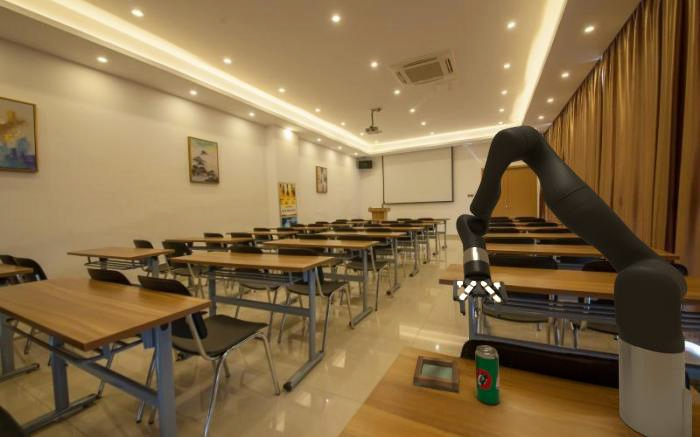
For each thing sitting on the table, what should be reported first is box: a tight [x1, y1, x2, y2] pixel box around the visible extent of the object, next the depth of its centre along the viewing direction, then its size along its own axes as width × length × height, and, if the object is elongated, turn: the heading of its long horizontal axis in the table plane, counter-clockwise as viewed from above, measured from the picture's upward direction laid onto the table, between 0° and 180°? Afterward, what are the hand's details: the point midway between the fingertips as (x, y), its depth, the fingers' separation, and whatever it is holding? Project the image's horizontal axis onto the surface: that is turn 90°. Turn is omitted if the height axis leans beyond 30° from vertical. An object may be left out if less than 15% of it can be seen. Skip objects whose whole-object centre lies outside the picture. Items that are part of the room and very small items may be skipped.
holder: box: [413, 355, 460, 394], centre depth 78 cm, size 11×11×2 cm
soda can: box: [474, 344, 501, 406], centre depth 68 cm, size 5×5×12 cm
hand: (481, 315), depth 79 cm, fingers open, 8 cm apart
